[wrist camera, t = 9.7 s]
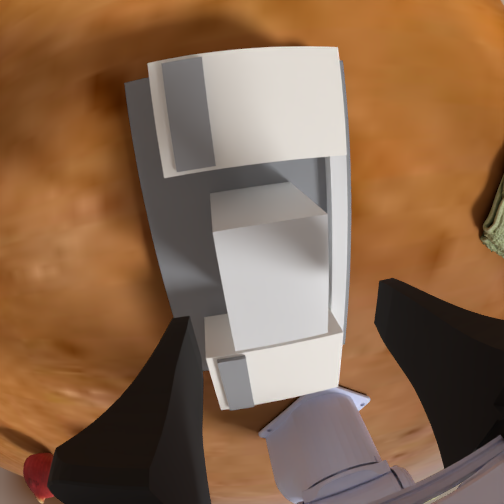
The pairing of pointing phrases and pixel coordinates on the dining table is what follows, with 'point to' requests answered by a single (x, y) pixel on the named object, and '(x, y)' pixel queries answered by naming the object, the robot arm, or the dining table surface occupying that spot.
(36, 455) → the onion
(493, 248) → the washcloth
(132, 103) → the board
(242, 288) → the block
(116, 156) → the dining table surface
